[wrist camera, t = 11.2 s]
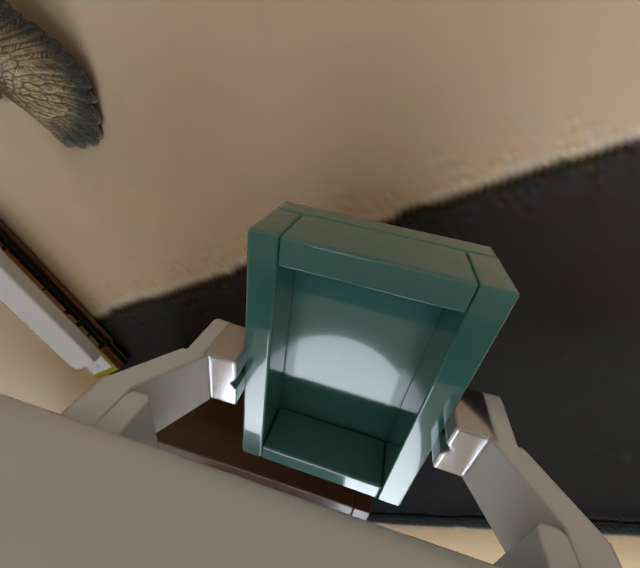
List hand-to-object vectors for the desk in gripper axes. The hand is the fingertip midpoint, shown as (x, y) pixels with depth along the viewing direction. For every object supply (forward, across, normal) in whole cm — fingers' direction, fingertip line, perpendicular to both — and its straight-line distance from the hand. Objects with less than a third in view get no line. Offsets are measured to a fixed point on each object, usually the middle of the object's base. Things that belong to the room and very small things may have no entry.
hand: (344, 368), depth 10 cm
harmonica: (+7, +21, +7) cm, 23 cm away
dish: (+1, 0, 0) cm, 1 cm away
